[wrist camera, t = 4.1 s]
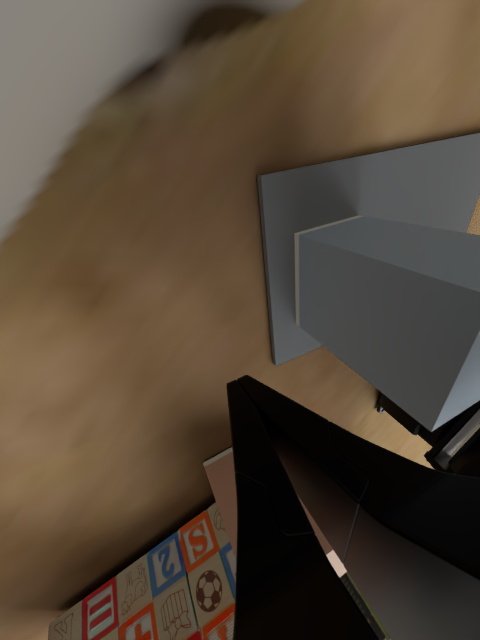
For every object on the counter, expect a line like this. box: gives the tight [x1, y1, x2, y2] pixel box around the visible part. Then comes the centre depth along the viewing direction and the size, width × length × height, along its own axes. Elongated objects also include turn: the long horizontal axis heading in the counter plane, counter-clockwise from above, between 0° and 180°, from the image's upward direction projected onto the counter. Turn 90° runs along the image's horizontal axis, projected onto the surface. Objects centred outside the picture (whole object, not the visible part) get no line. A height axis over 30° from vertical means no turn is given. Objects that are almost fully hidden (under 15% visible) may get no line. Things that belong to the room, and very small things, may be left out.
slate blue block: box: [294, 215, 480, 432], centre depth 12 cm, size 4×6×9 cm
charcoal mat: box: [257, 132, 480, 366], centre depth 18 cm, size 18×12×1 cm, turn 99°
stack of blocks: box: [48, 502, 236, 640], centre depth 20 cm, size 21×6×12 cm, turn 115°
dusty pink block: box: [203, 447, 347, 577], centre depth 18 cm, size 4×6×9 cm
